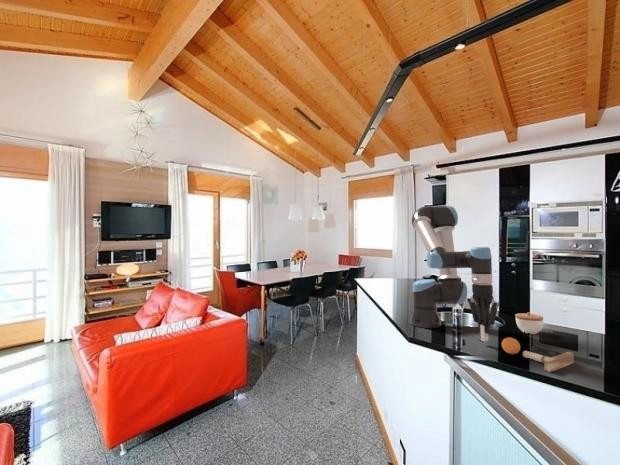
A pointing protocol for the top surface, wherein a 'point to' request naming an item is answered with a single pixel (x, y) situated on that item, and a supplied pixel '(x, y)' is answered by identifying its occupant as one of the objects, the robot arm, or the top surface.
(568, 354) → the wall
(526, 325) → the lidded jar
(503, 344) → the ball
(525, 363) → the top surface
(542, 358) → the pin
